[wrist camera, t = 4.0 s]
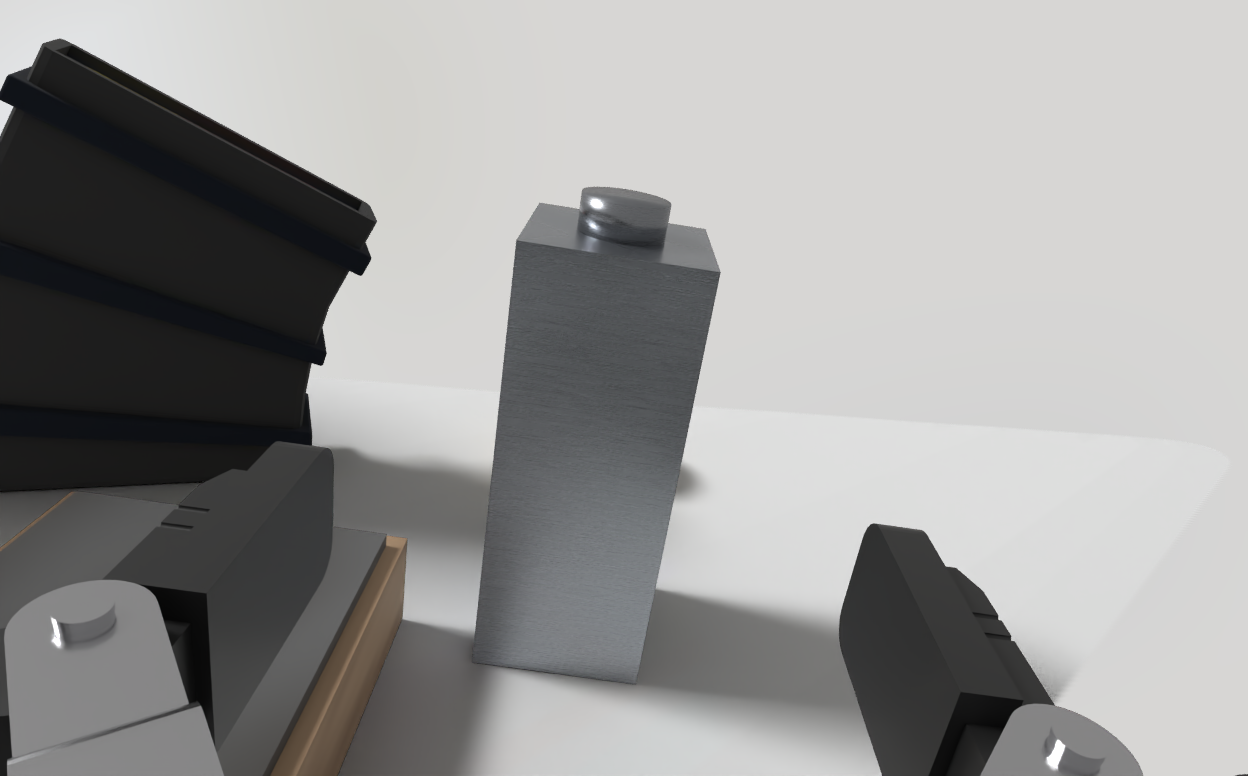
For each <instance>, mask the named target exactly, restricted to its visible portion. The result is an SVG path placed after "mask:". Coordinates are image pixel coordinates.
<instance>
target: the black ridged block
mask: <svg viewBox="0 0 1248 776" xmlns="http://www.w3.org/2000/svg"><path fill="white" fill-rule="evenodd" d="M0 100H2V101H3V102H6V103H8V104H10V105H12V106H14V107H13V109H12V111H11V114H10V116H9V118H8V120H7V123H6V125H5V127H4V129H3V131H2V133H1V136H0V491H12V490H33V489H53V488H74V487H94V486H115V485H135V484H156V483H176V482H197V481H208V480H210V479H212V478H214V477H217V476H219V475H221V474H223V473H225V472H227V471H229V470H231V469H237V470H244V471H247V470H248V469H249V468H250V467H251V466H252V465H253V464H254V463H255V462H256V461H257V460H258V459H259V458H260V457H261V456H262V455H263V453H264V452H265V451H266V450H267V449H268V448H269V447H270V446H271V445H272V444H273V443H275V442H277V441H280V442H288V443H295V444H302V445H309V446H312V429H311V419H310V409H309V399H308V394H307V393H306V388H307V383H308V378H309V373H310V368H311V363H314V364H317V365H320V366H321V365H323V363H324V360H325V357H326V354H327V353H326V347H325V341H324V334H323V329H322V327H323V324H324V321H325V318H326V315H327V312H328V309H329V306H330V304H331V303H332V301H333V299H334V297H335V295H336V294H337V292H338V290H339V288H340V286H341V285H342V283H343V281H344V279H345V278H346V276H347V274H348V272H349V271H351V272H353V273H355V274H357V275H360V276H361V275H362V274H363V273H364V271H365V269H366V268H367V266H368V264H369V262H370V260H371V256H370V253H369V251H368V248H367V245H366V243H365V242H366V240H367V239H368V237H369V235H370V233H371V231H372V230H373V228H374V226H375V224H376V222H377V220H376V218H375V216H374V214H373V211H372V209H371V207H370V206H369V205H368V204H367V203H365V202H364V201H362V200H360V199H358V198H357V197H355V196H353V195H351V194H349V193H347V192H345V191H344V190H342V189H340V188H338V187H336V186H334V185H333V184H331V183H329V182H327V181H325V180H323V179H322V178H319V177H318V176H316V175H314V174H312V173H310V172H309V171H307V170H305V169H303V168H301V167H299V166H298V165H296V164H294V163H292V162H290V161H288V160H286V159H285V158H283V157H281V156H279V155H277V154H275V153H274V152H272V151H270V150H268V149H266V148H264V147H262V146H260V145H259V144H257V143H255V142H253V141H251V140H249V139H248V138H246V137H244V136H242V135H240V134H238V133H236V132H235V131H233V130H231V129H229V128H227V127H225V126H223V125H222V124H220V123H218V122H216V121H214V120H212V119H211V118H209V117H207V116H205V115H203V114H201V113H199V112H198V111H196V110H194V109H192V108H190V107H188V106H187V105H185V104H183V103H181V102H179V101H177V100H175V99H174V98H172V97H170V96H168V95H166V94H164V93H162V92H161V91H159V90H157V89H155V88H153V87H151V86H149V85H148V84H146V83H144V82H142V81H140V80H139V79H137V78H135V77H133V76H131V75H129V74H127V73H125V72H123V71H122V70H120V69H118V68H116V67H115V66H113V65H111V64H109V63H107V62H105V61H103V60H102V59H100V58H98V57H96V56H94V55H92V54H90V53H89V52H87V51H85V50H83V49H81V48H79V47H77V46H76V45H74V44H71V43H70V42H68V41H66V40H63V39H57V40H53V41H49V42H46V43H43V44H42V46H41V48H40V50H39V53H38V55H37V57H36V59H35V61H34V63H33V65H32V67H29V68H26V69H23V70H21V71H18V72H15V73H13V74H10V75H8V76H7V77H6V80H5V82H4V84H3V86H2V89H1V91H0Z"/></svg>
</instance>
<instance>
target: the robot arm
mask: <svg viewBox="0 0 1248 776" xmlns="http://www.w3.org/2000/svg"><path fill="white" fill-rule="evenodd" d="M333 473H334V463H333V455H332V452H331V450H330V449H328V448H323V447H316V446H309V445H302V444H295V443H288V442H280V441H277V442H275V443H273V444H272V445H271V446H270V447H269V448H268V449H267V450H266V451H265V452H264V453H263V455H262V456H261V457H260V458H259V459H258V460H257V461H256V462H255V463H254V464H253V465H252V466H251V467H250V468H249V469H248V470H247V471H244V470H237V469H231V470H229V471H227V472H225V473H223V474H221V475H219V476H217V477H214V478H212V479H210V480H208V481H206V482H204V483H202V484H200V485H199V486H198V487H197V488H196V489H195V490H194V491H193V492H192V493H190V494H189V495H188V496H187V497H186V498H185V499H184V500H183V501H182V502H181V503H180V504H179V507H178V509H174V510H173V511H172V512H171V513H170V514H169V515H168V516H167V517H166V518H165V519H164V520H163V521H162V522H161V526H160V527H157V526H156V527H155V528H154V529H153V530H152V531H151V532H150V533H149V534H148V535H147V536H146V537H145V538H144V539H143V540H142V541H141V542H140V543H139V544H138V545H137V546H136V547H135V548H134V549H133V550H132V551H131V552H130V553H129V554H128V555H127V556H126V557H125V558H124V559H122V560H121V561H120V562H119V563H118V564H117V565H116V566H115V567H114V568H113V569H112V570H111V571H110V572H109V573H108V574H107V575H106V576H105V577H104V578H103V579H102V580H95V581H87V582H81V583H76V584H72V585H68V586H64V587H62V588H59V589H56V590H53V591H51V592H48V593H46V594H44V595H42V596H40V597H38V598H36V599H34V600H33V601H31V602H29V603H28V604H27V605H25V606H24V607H22V608H21V609H20V610H19V611H18V612H17V613H16V614H15V615H14V616H13V617H12V619H11V620H10V621H9V623H8V625H7V627H6V628H2V629H0V776H224V774H223V771H222V768H221V765H220V762H219V759H218V756H217V753H218V751H219V749H220V748H221V746H222V744H223V743H224V741H225V740H226V738H227V736H228V735H229V733H230V731H231V730H232V728H233V726H234V725H235V723H236V722H237V720H238V718H239V717H240V715H241V713H242V712H243V710H244V708H245V707H246V705H247V703H248V702H249V700H250V699H251V697H252V695H253V694H254V692H255V690H256V689H257V687H258V685H259V684H260V682H261V681H262V679H263V677H264V676H265V674H266V672H267V671H268V669H269V667H270V666H271V664H272V663H273V661H274V659H275V658H276V656H277V654H278V653H279V651H280V649H281V648H282V646H283V645H284V643H285V641H286V640H287V638H288V636H289V635H290V633H291V631H292V630H293V628H294V626H295V625H296V623H297V622H298V620H299V618H300V617H301V615H302V613H303V612H304V610H305V608H306V607H307V605H308V604H309V602H310V600H311V599H312V597H313V595H314V594H315V592H316V590H317V589H318V587H319V586H320V584H321V582H322V580H323V578H324V576H325V573H326V570H327V567H328V564H329V560H330V555H331V549H332V539H333ZM839 639H840V647H841V651H842V654H843V658H844V661H845V664H846V667H847V670H848V673H849V676H850V679H851V682H852V685H853V688H854V691H855V694H856V697H857V700H858V703H859V706H860V709H861V712H862V715H863V718H864V721H865V724H866V727H867V730H868V734H869V737H870V740H871V743H872V746H873V749H874V752H875V755H876V758H877V761H878V764H879V767H880V770H881V773H882V776H1143V773H1142V770H1141V768H1140V766H1139V764H1138V762H1137V761H1136V759H1135V758H1134V756H1133V755H1132V754H1131V752H1130V751H1129V750H1128V749H1127V748H1126V746H1124V745H1123V744H1122V743H1121V742H1120V741H1119V740H1118V739H1117V738H1116V737H1115V736H1113V735H1112V734H1111V733H1109V731H1107V730H1106V729H1104V728H1103V727H1101V726H1100V725H1098V724H1097V723H1095V722H1093V721H1091V720H1090V719H1088V718H1086V717H1084V716H1082V715H1080V714H1078V713H1075V712H1073V711H1070V710H1067V709H1065V708H1061V707H1057V706H1055V705H1054V703H1053V702H1052V700H1051V699H1050V697H1049V695H1048V694H1047V692H1046V691H1045V689H1044V687H1043V686H1042V684H1041V683H1040V681H1039V679H1038V678H1037V676H1036V675H1035V673H1034V671H1033V670H1032V668H1031V667H1030V665H1029V664H1028V662H1027V660H1026V659H1025V657H1024V656H1023V654H1022V652H1021V651H1020V649H1019V648H1018V646H1017V644H1016V643H1015V641H1011V635H1010V633H1009V632H1008V630H1007V629H1006V627H1005V625H1004V624H1003V622H1002V621H1000V620H998V614H997V613H996V611H995V609H994V608H993V606H992V605H991V603H990V601H989V600H988V598H987V597H986V595H985V594H984V592H983V591H982V590H981V589H980V588H979V587H978V586H976V585H975V584H974V583H973V582H972V581H971V580H969V579H968V578H967V577H966V576H965V575H964V574H962V573H961V572H960V571H959V570H958V569H957V568H953V567H945V565H944V563H943V561H942V560H941V558H940V556H939V555H938V553H937V551H936V550H935V548H934V546H933V544H932V543H931V541H930V539H929V538H928V536H927V534H926V533H925V532H924V531H922V530H917V529H910V528H903V527H896V526H888V525H881V524H871V525H870V526H869V527H868V528H867V530H866V532H865V534H864V536H863V539H862V543H861V546H860V549H859V553H858V556H857V559H856V563H855V566H854V569H853V573H852V576H851V579H850V583H849V586H848V589H847V593H846V596H845V599H844V603H843V606H842V610H841V615H840V624H839ZM1237 776H1248V774H1247V775H1246V774H1244V775H1237Z"/></svg>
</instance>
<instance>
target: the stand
mask: <svg viewBox="0 0 1248 776" xmlns="http://www.w3.org/2000/svg"><path fill="white" fill-rule="evenodd" d="M178 507H179V505H175V504H168V503H161V502H154V501H147V500H140V499H133V498H126V497H119V496H111V495H104V494H97V493H90V492H83V491H76V492H72V491H71V492H70V493H69V494H68V495H66V496H65V497H64V498H63V499H61V500H60V501H59V502H58V503H56V504H55V505H54V506H53V507H51V508H50V509H49V510H47V511H46V512H45V513H44V514H42V515H41V516H40V517H39V518H37V519H36V520H35V521H34V522H32V523H31V524H30V525H28V526H27V527H26V528H25V529H23V530H22V531H21V532H20V533H18V534H17V535H16V536H15V537H13V538H12V539H11V540H10V541H8V542H7V543H6V544H4V545H3V546H2V547H1V548H0V629H2V628H6V627H7V625H8V623H9V621H10V620H11V619H12V617H13V616H14V615H15V614H16V613H17V612H18V611H19V610H20V609H21V608H22V607H24V606H25V605H27V604H28V603H29V602H31V601H33V600H34V599H36V598H38V597H40V596H42V595H44V594H46V593H48V592H51V591H53V590H56V589H59V588H62V587H64V586H68V585H72V584H76V583H81V582H87V581H95V580H102V579H103V578H104V577H105V576H106V575H107V574H108V573H109V572H110V571H111V570H112V569H113V568H114V567H115V566H116V565H117V564H118V563H119V562H120V561H121V560H122V559H124V558H125V557H126V556H127V555H128V554H129V553H130V552H131V551H132V550H133V549H134V548H135V547H136V546H137V545H138V544H139V543H140V542H141V541H142V540H143V539H144V538H145V537H146V536H147V535H148V534H149V533H150V532H151V531H152V530H153V529H154V528H155V527H156V526H157V527H160V526H161V522H162V521H163V520H164V519H165V518H166V517H167V516H168V515H169V514H170V513H171V512H172V511H173V510H174V509H178ZM406 552H407V538H400V537H393V536H387V534H382V533H375V532H368V531H360V530H353V529H346V528H339V527H333V539H332V549H331V555H330V560H329V564H328V567H327V570H326V573H325V576H324V578H323V580H322V582H321V584H320V586H319V587H318V589H317V590H316V592H315V594H314V595H313V597H312V599H311V600H310V602H309V604H308V605H307V607H306V608H305V610H304V612H303V613H302V615H301V617H300V618H299V620H298V622H297V623H296V625H295V626H294V628H293V630H292V631H291V633H290V635H289V636H288V638H287V640H286V641H285V643H284V645H283V646H282V648H281V649H280V651H279V653H278V654H277V656H276V658H275V659H274V661H273V663H272V664H271V666H270V667H269V669H268V671H267V672H266V674H265V676H264V677H263V679H262V681H261V682H260V684H259V685H258V687H257V689H256V690H255V692H254V694H253V695H252V697H251V699H250V700H249V702H248V703H247V705H246V707H245V708H244V710H243V712H242V713H241V715H240V717H239V718H238V720H237V722H236V723H235V725H234V726H233V728H232V730H231V731H230V733H229V735H228V736H227V738H226V740H225V741H224V743H223V744H222V746H221V748H220V749H219V751H218V753H217V756H218V759H219V762H220V765H221V768H222V771H223V774H224V776H338V773H339V771H340V768H341V766H342V763H343V761H344V759H345V756H346V754H347V751H348V749H349V746H350V744H351V742H352V739H353V737H354V734H355V732H356V729H357V727H358V725H359V722H360V720H361V717H362V715H363V712H364V710H365V708H366V705H367V703H368V700H369V698H370V695H371V693H372V691H373V688H374V686H375V683H376V681H377V678H378V676H379V674H380V671H381V669H382V666H383V664H384V661H385V659H386V657H387V654H388V652H389V649H390V647H391V645H392V642H393V640H394V637H395V635H396V632H397V630H398V628H399V625H400V623H401V620H402V617H403V600H404V584H405V568H406Z"/></svg>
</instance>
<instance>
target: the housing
mask: <svg viewBox="0 0 1248 776" xmlns="http://www.w3.org/2000/svg"><path fill="white" fill-rule="evenodd" d="M670 210H671V203H670V202H669V201H667V200H665V199H663V198H660V197H657V196H654V195H650V194H647V193H642V192H637V191H633V190H627V189H620V188H610V187H588V188H584V189H583V190H582V196H581V202H580V209H575V208H569V207H563V206H556V205H550V204H544V203H539V205H538V206H537V208H536V210H535V211H534V213H533V215H532V216H531V218H530V220H529V221H528V223H527V224H526V226H525V228H524V229H523V231H522V232H521V234H520V235H519V237H518V239H517V241H516V249H515V259H514V268H513V278H512V288H511V297H510V307H509V316H508V325H507V326H508V327H507V335H506V344H505V354H504V363H503V373H502V382H501V392H500V401H499V411H498V420H497V430H496V439H495V449H494V458H493V468H492V477H491V487H490V496H489V506H488V515H487V525H486V534H485V544H484V553H483V563H482V572H481V582H480V591H479V601H478V610H477V620H476V629H475V639H474V648H473V658H472V662H474V663H482V664H489V665H496V666H504V667H511V668H519V669H526V670H534V671H541V672H549V673H556V674H563V675H571V676H578V677H586V678H593V679H601V680H608V681H615V682H623V683H630V684H636V680H637V675H638V671H639V666H640V661H641V656H642V651H643V646H644V641H645V637H646V632H647V627H648V622H649V617H650V612H651V607H652V603H653V598H654V593H655V588H656V583H657V578H658V573H659V569H660V564H661V559H662V554H663V549H664V544H665V539H666V535H667V530H668V525H669V520H670V515H671V510H672V505H673V501H674V496H675V491H676V486H677V481H678V476H679V471H680V467H681V462H682V457H683V452H684V447H685V442H686V437H687V433H688V428H689V423H690V418H691V413H692V408H693V403H694V398H695V393H696V389H697V384H698V379H699V374H700V369H701V364H702V360H703V355H704V350H705V345H706V340H707V335H708V330H709V325H710V321H711V316H712V311H713V306H714V301H715V296H716V292H717V287H718V282H719V277H720V269H719V267H718V264H717V261H716V258H715V255H714V252H713V249H712V247H711V244H710V241H709V238H708V235H707V232H706V230H705V229H701V228H695V227H688V226H682V225H675V224H670V223H668V221H669V215H670Z"/></svg>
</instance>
